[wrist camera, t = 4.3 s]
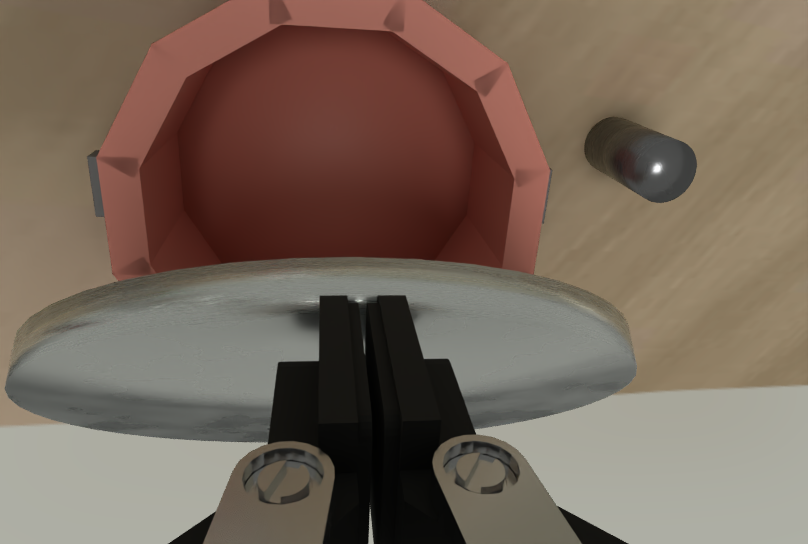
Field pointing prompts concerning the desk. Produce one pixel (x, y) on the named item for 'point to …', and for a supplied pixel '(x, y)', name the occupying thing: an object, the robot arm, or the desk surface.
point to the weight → (641, 159)
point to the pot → (320, 143)
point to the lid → (306, 343)
